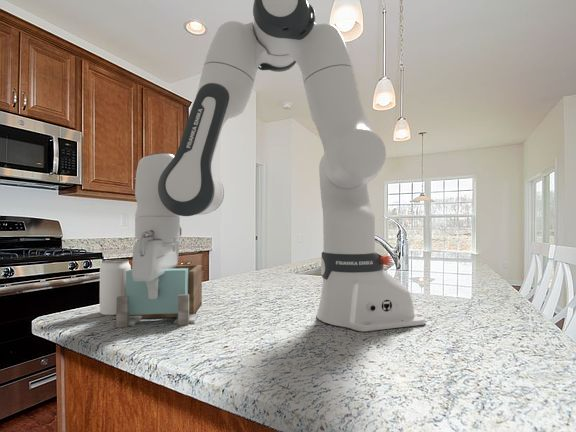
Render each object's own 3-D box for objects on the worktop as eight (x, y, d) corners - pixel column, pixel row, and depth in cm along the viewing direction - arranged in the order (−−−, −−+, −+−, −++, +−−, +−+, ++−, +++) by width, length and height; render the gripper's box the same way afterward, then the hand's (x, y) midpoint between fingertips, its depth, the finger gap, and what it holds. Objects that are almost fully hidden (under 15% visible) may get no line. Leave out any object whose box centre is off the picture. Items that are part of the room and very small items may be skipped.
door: (188, 309, 71) (188, 268, 72) (184, 314, 67) (184, 270, 68) (131, 311, 70) (131, 269, 70) (124, 316, 66) (124, 271, 66)
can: (117, 316, 72) (117, 262, 72) (92, 315, 73) (93, 262, 74) (136, 309, 78) (136, 259, 79) (113, 307, 80) (113, 258, 80)
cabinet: (205, 303, 83) (205, 264, 83) (193, 324, 66) (193, 275, 66) (140, 305, 81) (140, 265, 81) (111, 327, 65) (111, 277, 65)
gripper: (158, 231, 59) (158, 307, 59) (183, 229, 79) (183, 285, 79) (122, 231, 58) (122, 308, 58) (156, 229, 79) (156, 286, 79)
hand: (157, 295), depth 69 cm, fingers closed on door, 4 cm apart
